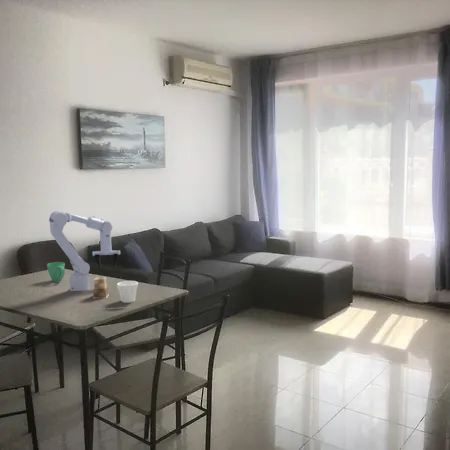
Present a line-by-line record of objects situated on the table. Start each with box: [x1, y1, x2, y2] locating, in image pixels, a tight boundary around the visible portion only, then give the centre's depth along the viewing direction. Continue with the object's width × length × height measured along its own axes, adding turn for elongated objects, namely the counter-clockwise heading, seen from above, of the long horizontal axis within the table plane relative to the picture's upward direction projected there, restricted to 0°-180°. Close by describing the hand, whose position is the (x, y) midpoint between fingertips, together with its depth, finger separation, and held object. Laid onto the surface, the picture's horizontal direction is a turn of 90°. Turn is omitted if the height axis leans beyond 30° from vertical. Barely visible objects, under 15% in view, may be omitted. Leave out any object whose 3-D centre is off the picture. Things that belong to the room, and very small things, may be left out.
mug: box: [46, 261, 66, 283], centre depth 291 cm, size 15×10×10 cm
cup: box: [116, 280, 139, 304], centre depth 244 cm, size 10×10×9 cm
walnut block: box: [92, 286, 109, 299], centre depth 254 cm, size 6×6×4 cm
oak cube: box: [93, 276, 108, 290], centre depth 254 cm, size 5×5×5 cm
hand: (107, 268), depth 277 cm, fingers open, 7 cm apart
